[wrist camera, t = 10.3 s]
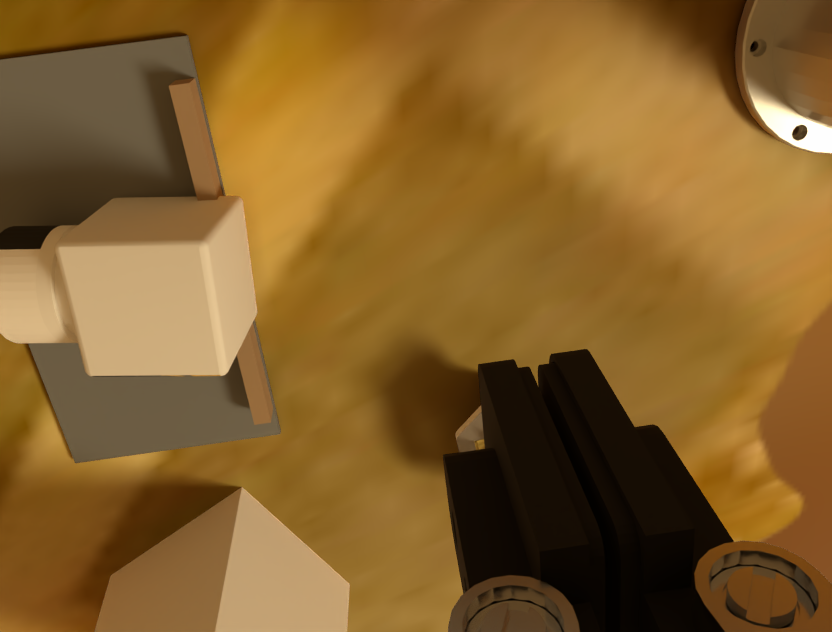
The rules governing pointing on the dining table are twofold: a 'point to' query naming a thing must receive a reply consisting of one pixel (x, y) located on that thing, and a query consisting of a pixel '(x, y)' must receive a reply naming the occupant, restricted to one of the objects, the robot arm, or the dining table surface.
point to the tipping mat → (89, 191)
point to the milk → (227, 579)
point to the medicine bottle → (134, 286)
